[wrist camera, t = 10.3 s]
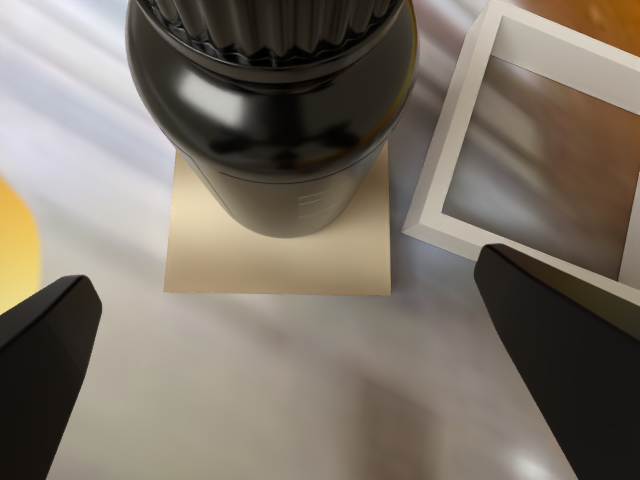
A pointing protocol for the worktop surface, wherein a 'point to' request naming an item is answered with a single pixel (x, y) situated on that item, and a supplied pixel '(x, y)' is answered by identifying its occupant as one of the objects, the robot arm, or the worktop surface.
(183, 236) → the birch board
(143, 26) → the supplement bottle
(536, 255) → the frame
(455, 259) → the worktop surface
